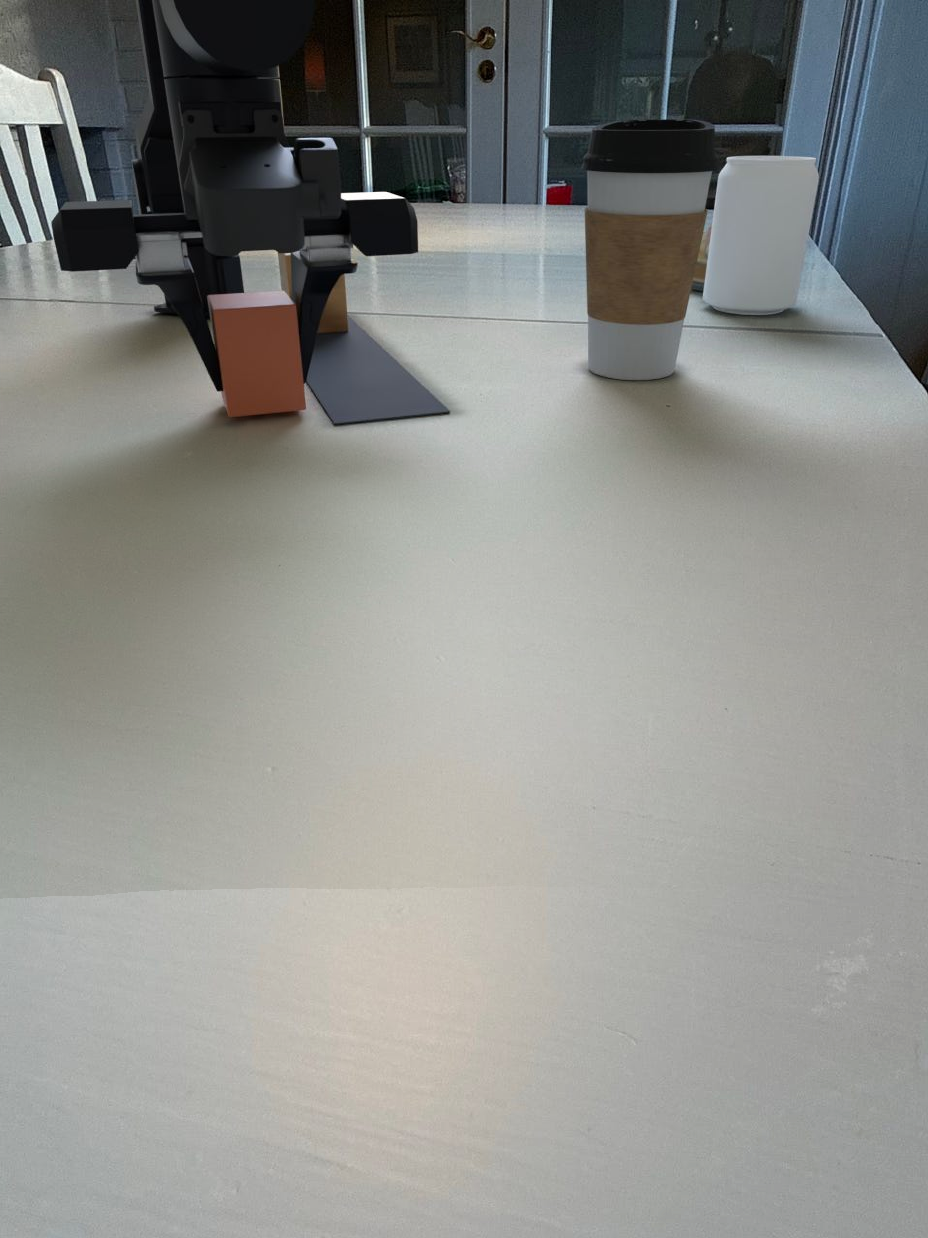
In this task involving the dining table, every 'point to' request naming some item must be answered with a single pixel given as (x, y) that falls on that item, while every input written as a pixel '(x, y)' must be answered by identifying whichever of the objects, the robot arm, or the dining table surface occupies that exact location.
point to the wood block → (335, 306)
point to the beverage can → (760, 233)
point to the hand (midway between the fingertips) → (260, 386)
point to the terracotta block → (258, 352)
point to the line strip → (364, 380)
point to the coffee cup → (643, 240)
